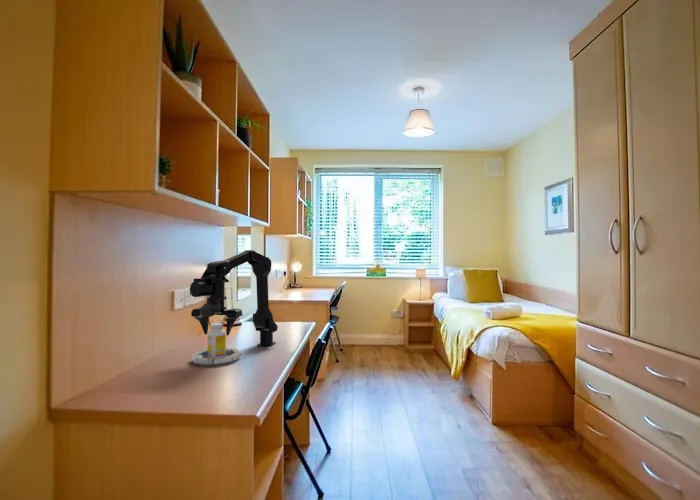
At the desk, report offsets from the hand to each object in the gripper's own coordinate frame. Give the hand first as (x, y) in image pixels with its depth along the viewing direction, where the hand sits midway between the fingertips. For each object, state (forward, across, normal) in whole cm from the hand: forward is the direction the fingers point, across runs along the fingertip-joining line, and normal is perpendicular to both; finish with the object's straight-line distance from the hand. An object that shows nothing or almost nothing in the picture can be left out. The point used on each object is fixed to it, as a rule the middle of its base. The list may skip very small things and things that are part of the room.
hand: (216, 334), depth 147 cm
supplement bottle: (+9, 0, 0) cm, 9 cm away
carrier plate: (+10, 0, 0) cm, 10 cm away
